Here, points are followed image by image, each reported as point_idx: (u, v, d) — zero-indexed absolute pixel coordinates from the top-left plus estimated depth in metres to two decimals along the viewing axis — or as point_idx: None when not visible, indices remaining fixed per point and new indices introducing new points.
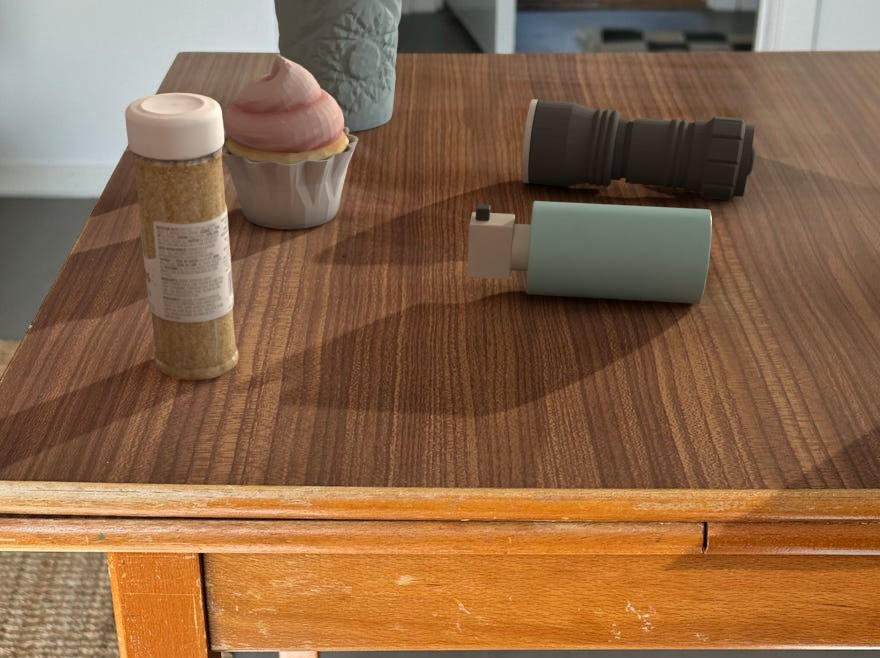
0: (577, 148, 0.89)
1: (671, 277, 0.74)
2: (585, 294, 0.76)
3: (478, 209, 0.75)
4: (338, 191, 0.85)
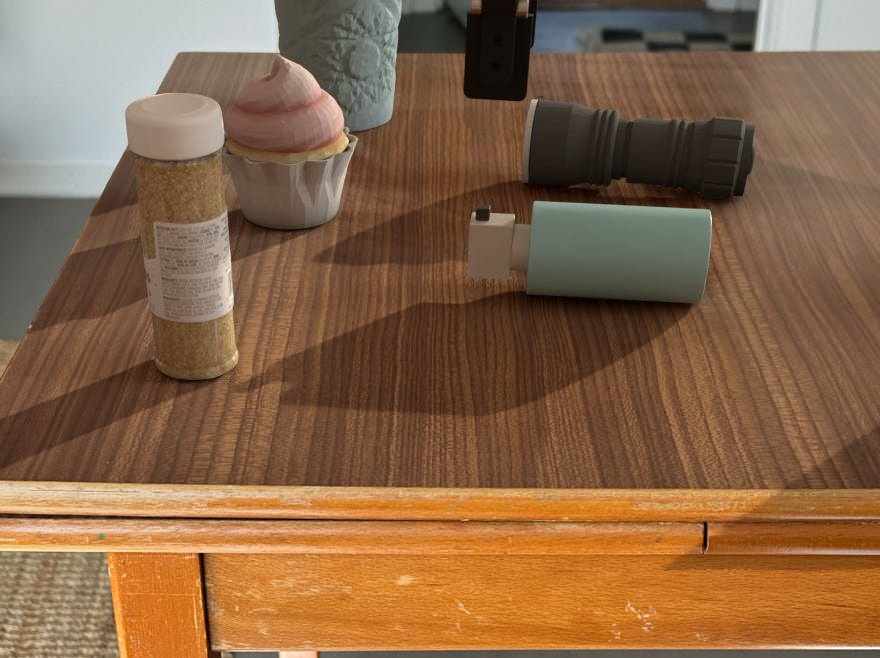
0: (578, 147, 0.89)
1: (671, 277, 0.74)
2: (585, 294, 0.76)
3: (478, 209, 0.75)
4: (338, 191, 0.85)
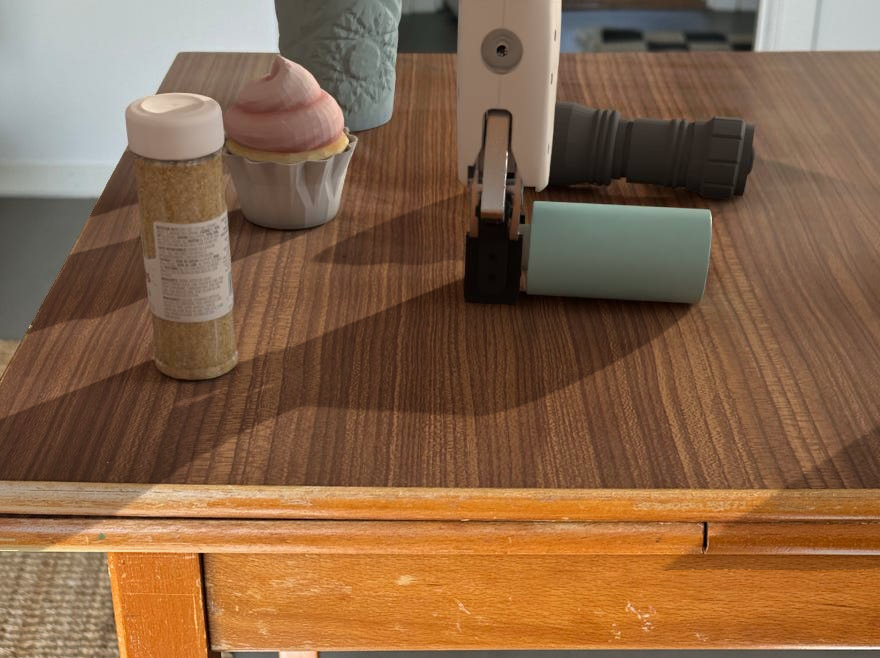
0: (578, 147, 0.89)
1: (671, 277, 0.74)
2: (585, 294, 0.76)
3: None
4: (338, 191, 0.85)
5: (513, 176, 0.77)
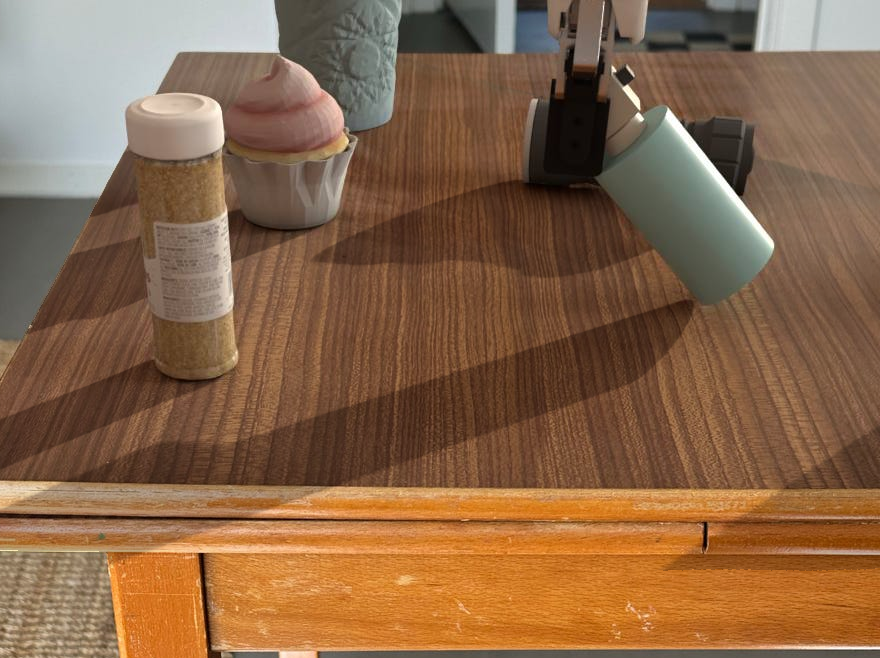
0: None
1: (714, 268, 0.73)
2: (639, 220, 0.73)
3: (627, 68, 0.70)
4: (338, 191, 0.85)
5: None
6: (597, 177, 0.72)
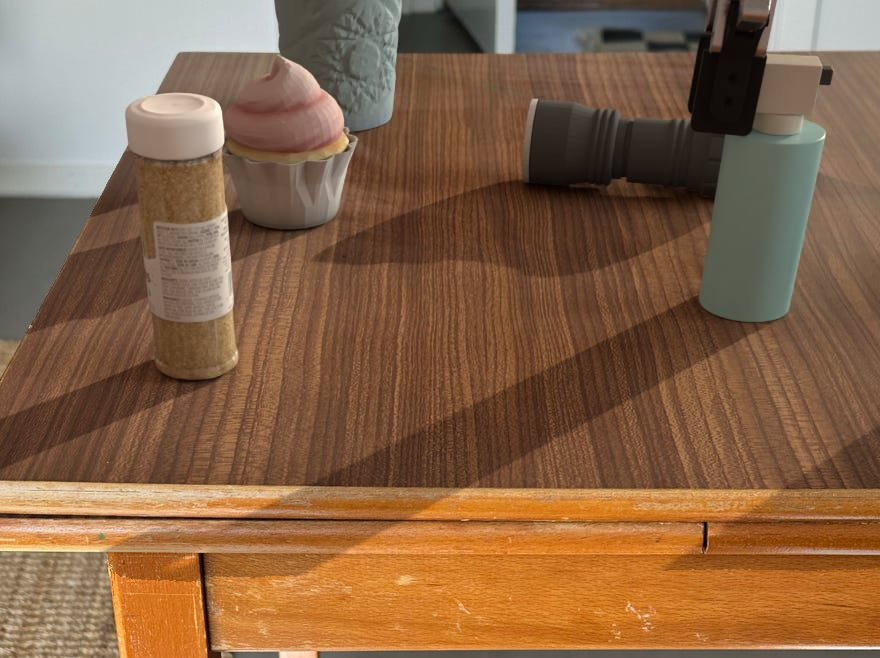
0: (578, 147, 0.89)
1: (748, 289, 0.74)
2: (732, 201, 0.72)
3: None
4: (338, 191, 0.85)
5: None
6: (735, 136, 0.70)
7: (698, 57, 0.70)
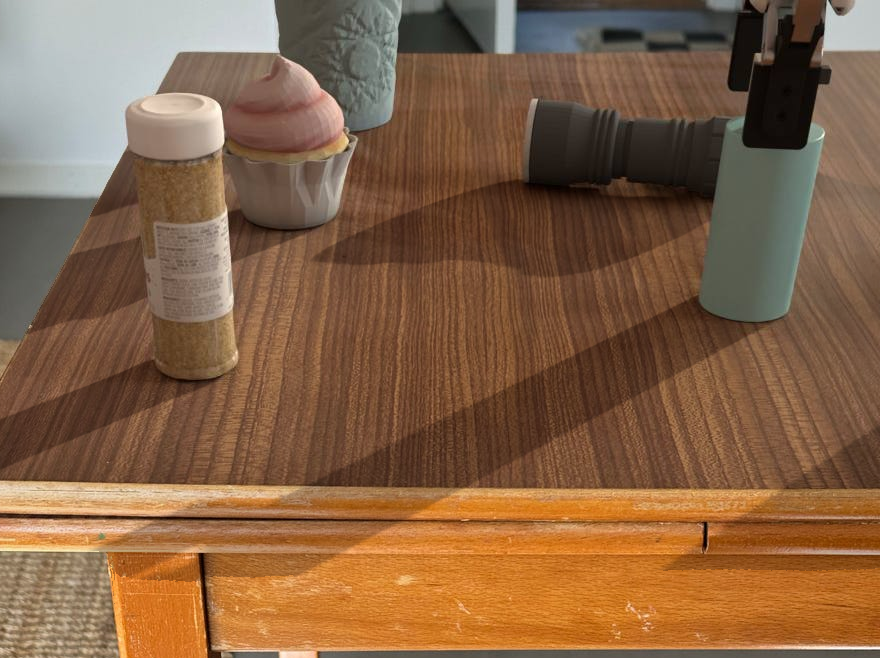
0: (578, 147, 0.89)
1: (748, 289, 0.74)
2: (732, 200, 0.72)
3: (831, 71, 0.69)
4: (338, 191, 0.85)
5: None
6: (734, 136, 0.70)
7: (736, 35, 0.73)
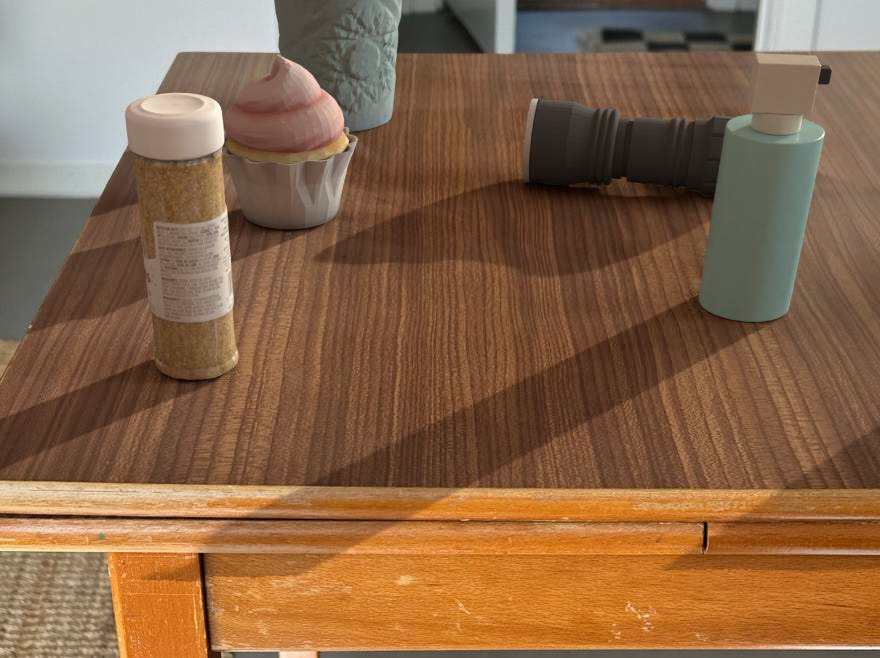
0: (578, 147, 0.89)
1: (748, 289, 0.74)
2: (732, 200, 0.72)
3: (831, 71, 0.69)
4: (338, 191, 0.85)
5: None
6: (734, 136, 0.70)
7: None
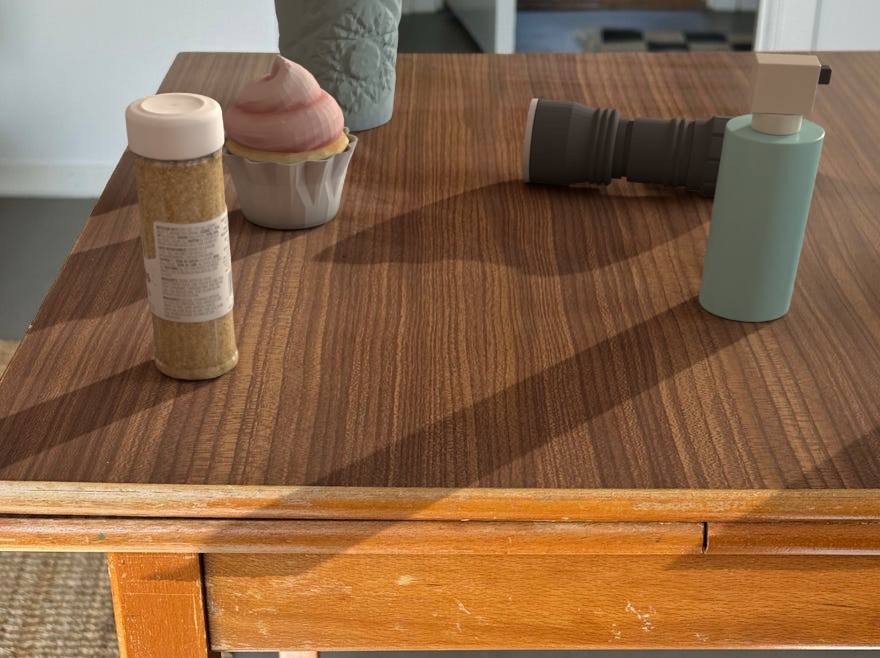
0: (578, 147, 0.89)
1: (748, 289, 0.74)
2: (732, 200, 0.72)
3: (831, 71, 0.69)
4: (338, 191, 0.85)
5: None
6: (734, 136, 0.70)
7: None
